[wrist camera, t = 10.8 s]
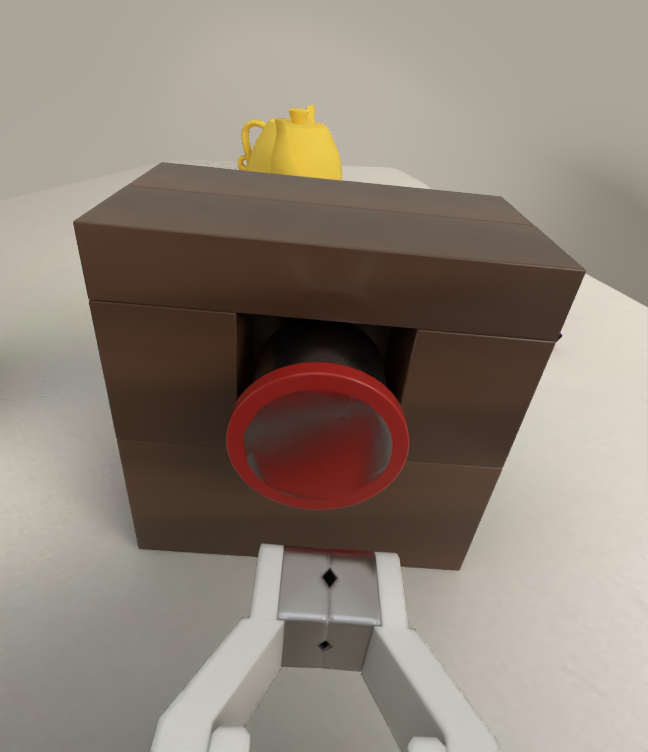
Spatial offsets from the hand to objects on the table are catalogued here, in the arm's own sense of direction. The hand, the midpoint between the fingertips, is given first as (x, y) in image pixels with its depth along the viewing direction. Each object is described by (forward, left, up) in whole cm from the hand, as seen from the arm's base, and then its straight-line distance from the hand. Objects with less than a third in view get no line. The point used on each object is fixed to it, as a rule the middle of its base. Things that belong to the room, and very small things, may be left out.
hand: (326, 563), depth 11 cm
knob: (+5, -2, -3) cm, 6 cm away
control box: (+10, -3, -9) cm, 14 cm away
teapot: (+63, -17, -9) cm, 66 cm away
